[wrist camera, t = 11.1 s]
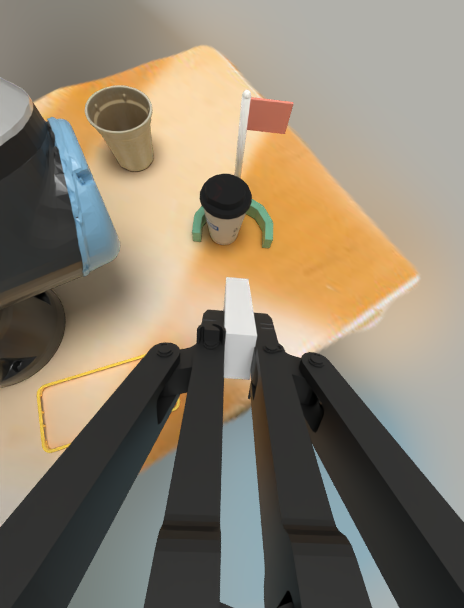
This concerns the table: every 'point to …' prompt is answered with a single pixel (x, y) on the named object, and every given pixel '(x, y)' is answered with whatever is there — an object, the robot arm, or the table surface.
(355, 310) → the table surface
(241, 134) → the flag
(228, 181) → the coffee cup
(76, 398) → the table surface
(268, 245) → the cup ring
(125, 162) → the flower pot
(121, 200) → the table surface
